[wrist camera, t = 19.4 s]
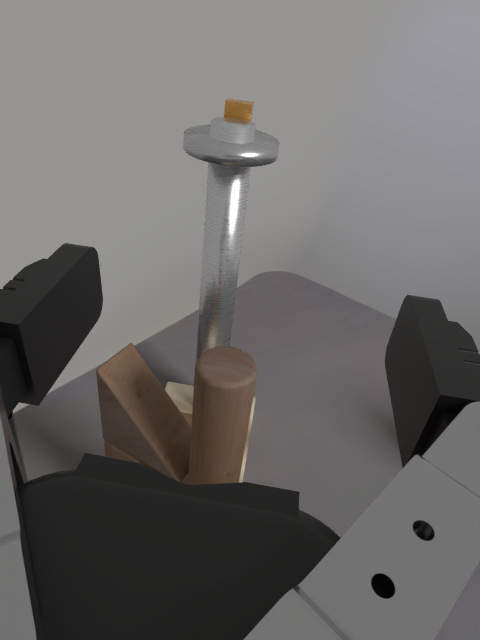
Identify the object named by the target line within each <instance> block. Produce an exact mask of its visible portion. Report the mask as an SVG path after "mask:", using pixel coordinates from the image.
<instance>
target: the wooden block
mask: <svg viewBox="0 0 480 640" xmlns="http://www.w3.org/2000/svg"><path fill="white" fill-rule="evenodd" d="M96 375H97V384H98V393H99V403H100V412H101V421H102V431H103V438H104V439H105V441H104V446H105V455H106V457H109V458H114V459H120V460H125V461H131V462H136V463H138V464H141V465H143V466H145V467H147V468H150V469H152V470H154V471H156V472H159V473H161V474H163V475H165V476H167V477H170V478H172V479H174V480H176V481H179V482H181V483H184V484H188V485H200V484H220V483H239V479H240V473H241V467H242V461H243V455H244V449H245V443H246V438H247V432H248V426H249V420H250V414H251V408H252V402H253V396H254V390H255V385H256V379H257V366H256V364H255V362H254V360H253V358H252V357H251V356H250V355H249V354H248V353H246V352H244V351H242V350H240V349H237V348H234V347H226V346H222V347H214V348H211V349H208V350H207V351H205V352H204V353H202V354H201V356H200V357H199V359H198V360H197V362H196V366H195V377H194V393H193V410H192V426H190V424H189V423H188V422H187V420H186V419H185V417H184V416H183V414H182V413H181V412H180V410H179V409H178V407H177V406H176V405H175V403H174V402H173V400H172V399H171V397H170V396H169V395H168V393H167V392H166V390H165V389H164V388H163V386H162V385H161V383H160V382H159V380H158V379H157V378H156V376H155V375H154V373H153V372H152V371H151V369H150V368H149V366H148V365H147V363H146V362H145V361H144V359H143V358H142V356H141V355H140V354H139V352H138V351H137V349H136V348H135V346H134V345H133V344H132V343H131V344H129V345H128V346H126V347H125V348H124V349H122V350H121V351H120V352H118V353H117V354H116V355H114V356H113V357H112V358H110V359H109V360H108V361H106V362H105V363H104V364H102V365H101V366H100V367H98V368H97V369H96Z"/></svg>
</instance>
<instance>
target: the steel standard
mask: <svg viewBox="0 0 480 640" xmlns="http://www.w3.org/2000/svg"><path fill="white" fill-rule="evenodd" d="M253 103H254V102H248V101H241V100H234V99H227V100H226V101H225V114H224V117H219V118H214V119H212V120H211V125H202V126H195V127H191V128H188V129H187V130H185V132H184V144H183V148H184V150H185V152H186V153H188V154H189V155H190V156H193V157H195V158H197V159H200V160H203V161H206V162H208V177H207V193H206V209H205V225H204V241H203V258H202V273H201V289H200V306H199V321H198V337H197V353H196V362H197V360H198V359H199V357H200V356H201V354H202V353H204V352H205V351H207V350H208V349H211V348H214V347H222V346H226V347H230V339H231V331H232V322H233V313H234V305H235V296H236V288H237V279H238V271H239V262H240V253H241V244H242V236H243V228H244V219H245V211H246V202H247V193H248V185H249V176H250V168H251V167H253V166H262V165H267V164H271V163H273V162H275V161H276V160H277V157H278V150H279V141H278V140H277V139H276V138H275V137H273V136H271V135H269V134H267V133H264V132H261V131H257V130H255V124H254V123H252V122H251V121H252V111H253Z"/></svg>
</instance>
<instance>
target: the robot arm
mask: <svg viewBox="0 0 480 640" xmlns="http://www.w3.org/2000/svg"><path fill="white" fill-rule="evenodd" d="M102 303H103V296H102V287H101V277H100V268H99V259H98V254H97V251H96V249H95V248H93V247H88V246H81V245H74V244H68V243H66V244H63V245H62V246H61V247H60V248H59V249H58V250H57V251H55V252H54V253H53V255H51V256H50V257H49V258H48V259H41V260H39V261H37V262H35V263H33V264H30V265H28V266H26V267H25V268H24V269H22V270H21V271H20V272H19V273H18V274H17V275H16V276H15V277H14V278H13V280H10V281H9V282H8V283H7V284H6V285H5V286H4V287H3V289H0V640H434V638H435V637H436V635H437V633H438V632H439V630H440V628H441V626H442V625H443V623H444V621H445V619H446V618H447V616H448V614H449V613H450V611H451V609H452V607H453V606H454V604H455V602H456V600H457V599H458V597H459V595H460V594H461V592H462V590H463V588H464V587H465V585H466V583H467V581H468V580H469V578H470V576H471V575H472V573H473V571H474V569H475V568H476V566H477V564H478V563H479V561H480V354H478V350H477V347H476V345H475V343H474V340H473V338H472V336H471V335H470V334H469V333H468V332H467V331H466V330H464V328H463V327H462V326H460V324H459V323H458V322H451V321H448V320H447V318H446V315H445V312H444V310H443V307H442V305H441V302H440V301H439V300H437V299H431V298H425V297H417V296H411V295H407V296H406V297H405V299H404V301H403V303H402V306H401V308H400V311H399V314H398V317H397V320H396V322H395V325H394V328H393V331H392V334H391V336H390V339H389V342H388V345H387V349H386V356H385V368H386V374H387V380H388V385H389V391H390V397H391V403H392V408H393V414H394V420H395V426H396V431H397V437H398V443H399V449H400V454H401V460H402V466H403V469H402V470H401V471H400V472H399V473H398V474H397V476H396V477H395V478H394V479H393V480H392V481H391V482H390V483H389V485H388V486H387V487H386V488H385V489H384V490H383V491H382V492H381V494H380V495H379V496H378V497H377V498H376V499H375V500H374V501H373V503H372V504H371V505H370V506H369V507H368V508H367V509H366V510H365V512H364V513H363V514H362V515H361V516H360V517H359V518H358V519H357V521H356V522H355V523H354V524H353V525H352V526H351V527H350V528H349V530H348V531H347V532H346V533H345V534H344V535H343V536H342V537H341V538H340V537H339V536H338V535H337V534H336V533H335V532H334V531H332V530H331V529H330V528H329V527H327V526H326V525H325V524H323V523H322V522H321V521H319V520H318V519H316V518H314V517H312V516H311V515H309V514H307V513H305V512H303V511H301V510H299V492H297V491H291V490H286V489H280V488H275V487H269V486H263V485H258V484H252V483H247V482H240V483H220V484H200V485H188V484H184V483H181V482H179V481H176V480H174V479H172V478H170V477H167V476H165V475H163V474H161V473H159V472H156V471H154V470H152V469H150V468H147V467H145V466H143V465H141V464H138V463H136V462H131V461H125V460H120V459H114V458H109V457H103V456H97V455H92V454H86V453H85V454H84V456H83V458H82V460H81V462H80V464H79V466H78V468H77V469H76V470H68V471H61V472H56V473H52V474H48V475H44V476H41V477H39V478H36V479H33V480H30V481H28V480H27V476H26V471H25V466H24V461H23V456H22V452H21V447H20V442H19V437H18V432H17V427H16V422H15V418H14V415H13V409H14V408H15V407H16V405H17V404H18V403H19V402H21V403H26V404H32V405H38V406H39V404H40V403H41V401H42V400H43V398H44V397H45V396H46V394H47V393H48V391H49V390H50V388H51V387H52V386H53V384H54V383H55V381H56V380H57V378H58V377H59V375H60V374H61V372H62V371H63V370H64V368H65V367H66V365H67V364H68V362H69V361H70V360H71V358H72V357H73V355H74V354H75V352H76V351H77V350H78V348H79V346H80V345H81V344H82V342H83V341H84V339H85V338H86V337H87V335H88V334H89V332H90V330H91V329H92V328H93V326H94V325H95V324H96V322H97V321H98V319H99V317H100V314H101V310H102Z"/></svg>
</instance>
